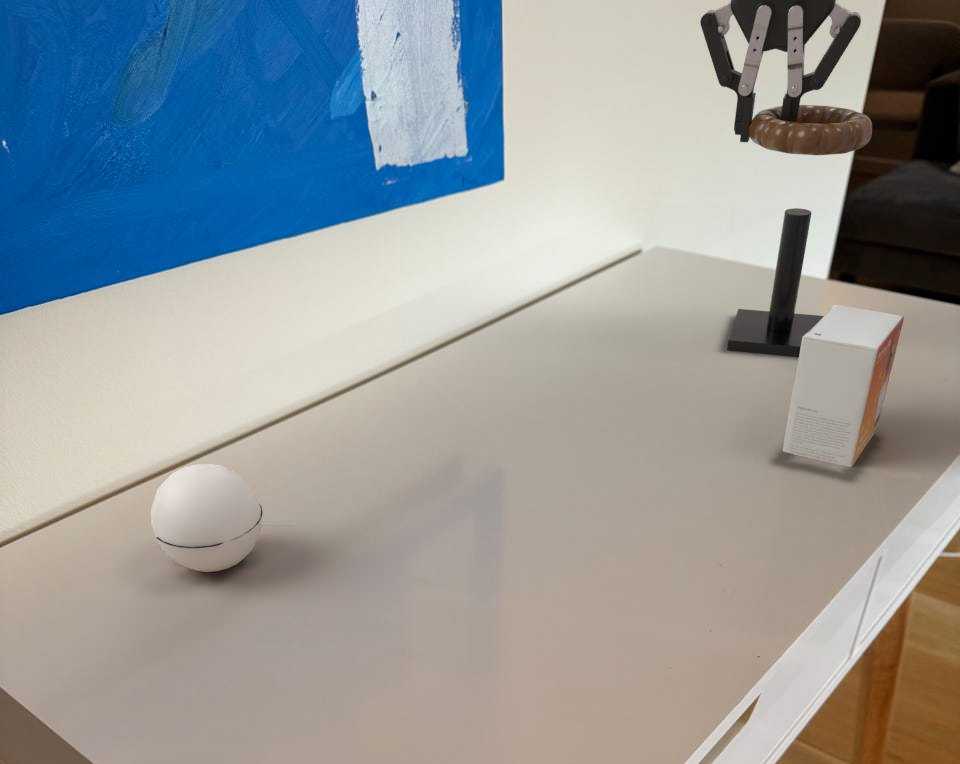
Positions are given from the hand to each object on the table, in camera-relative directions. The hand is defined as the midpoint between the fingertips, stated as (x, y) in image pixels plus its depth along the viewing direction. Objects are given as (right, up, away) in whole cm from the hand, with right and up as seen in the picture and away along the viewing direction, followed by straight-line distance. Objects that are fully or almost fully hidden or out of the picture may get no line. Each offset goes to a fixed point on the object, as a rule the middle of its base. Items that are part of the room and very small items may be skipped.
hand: (763, 140), depth 91 cm
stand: (+4, -15, +10) cm, 19 cm away
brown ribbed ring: (+4, 0, -2) cm, 4 cm away
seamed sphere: (-43, -40, -20) cm, 62 cm away
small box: (+3, -30, -9) cm, 31 cm away
